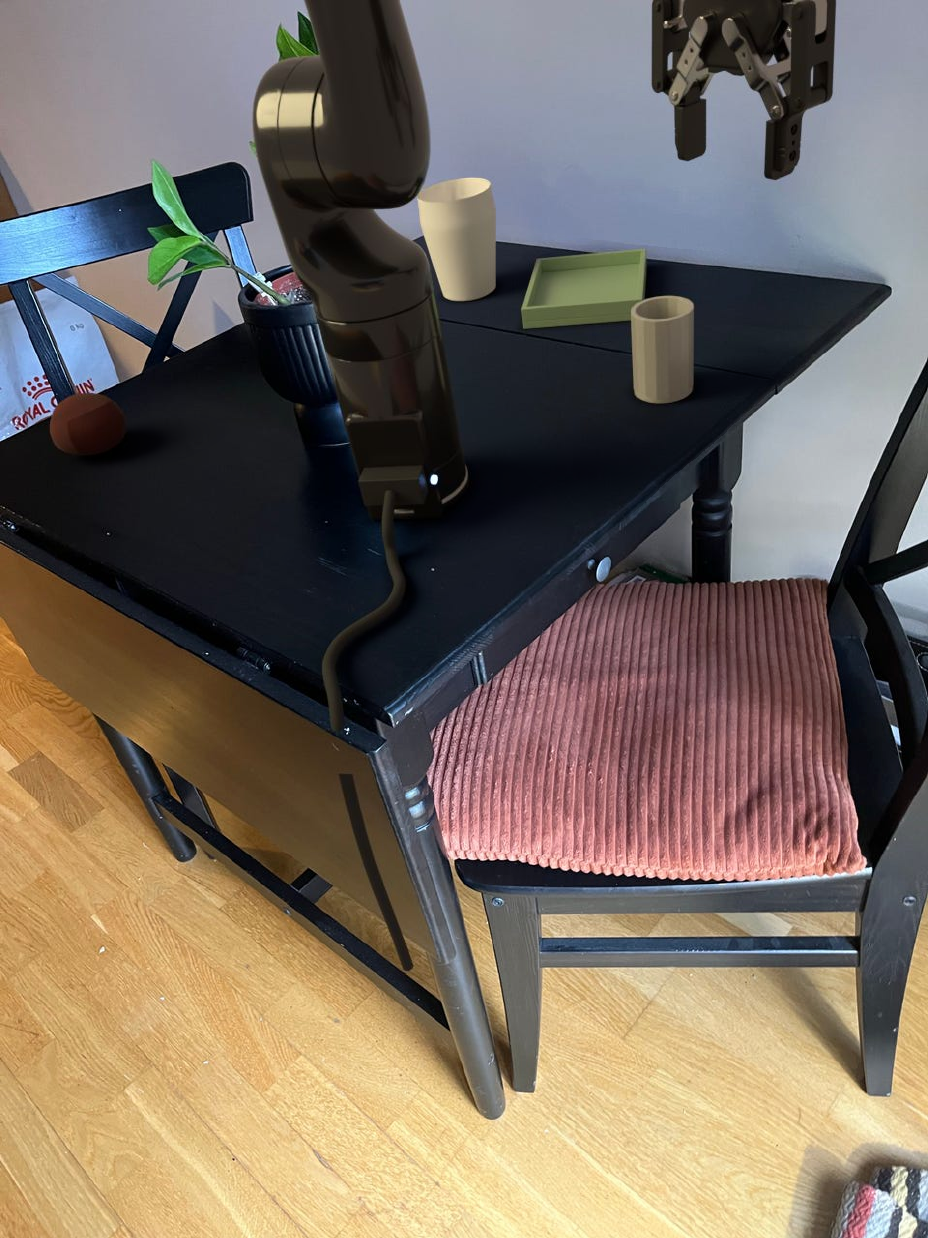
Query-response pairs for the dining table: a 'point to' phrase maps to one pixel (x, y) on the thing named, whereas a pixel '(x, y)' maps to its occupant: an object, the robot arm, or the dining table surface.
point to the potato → (87, 424)
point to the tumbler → (663, 348)
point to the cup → (461, 236)
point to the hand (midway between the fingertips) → (733, 166)
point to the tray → (584, 289)
